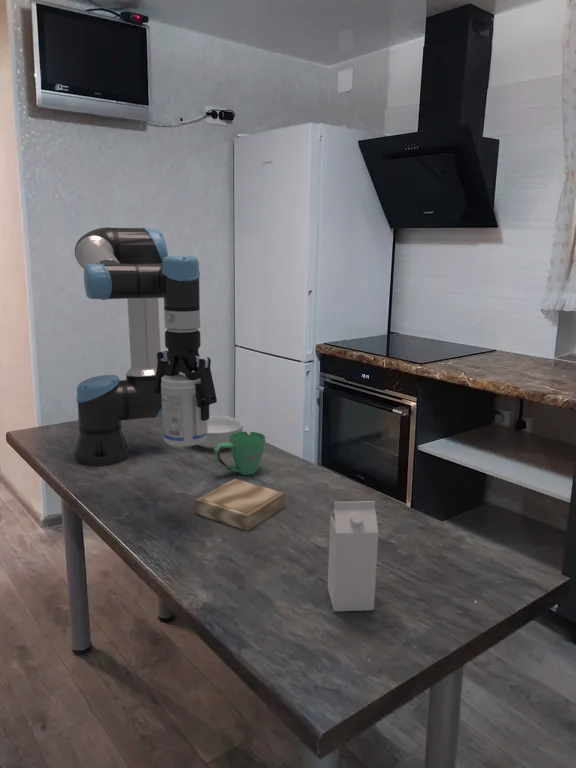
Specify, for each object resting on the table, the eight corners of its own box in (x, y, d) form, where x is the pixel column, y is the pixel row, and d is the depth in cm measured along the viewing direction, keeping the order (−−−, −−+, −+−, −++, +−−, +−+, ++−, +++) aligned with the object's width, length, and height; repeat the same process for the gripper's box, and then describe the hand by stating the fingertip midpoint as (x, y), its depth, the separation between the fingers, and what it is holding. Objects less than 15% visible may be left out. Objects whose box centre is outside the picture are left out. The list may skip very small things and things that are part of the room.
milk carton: (327, 589, 111) (331, 493, 106) (365, 588, 111) (370, 492, 107) (333, 612, 104) (337, 511, 99) (373, 611, 104) (379, 510, 100)
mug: (253, 462, 172) (254, 429, 170) (271, 474, 164) (272, 439, 162) (207, 472, 164) (206, 437, 162) (223, 484, 156) (223, 448, 154)
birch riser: (195, 513, 140) (195, 499, 139) (234, 491, 152) (234, 478, 151) (247, 530, 132) (247, 515, 131) (284, 506, 144) (284, 492, 144)
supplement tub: (200, 432, 140) (199, 370, 137) (212, 444, 132) (211, 379, 129) (158, 437, 137) (156, 373, 133) (168, 450, 128) (166, 383, 125)
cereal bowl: (177, 449, 181) (176, 427, 180) (203, 433, 197) (203, 413, 195) (228, 457, 176) (228, 434, 174) (251, 440, 191) (251, 419, 189)
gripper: (133, 326, 132) (137, 424, 137) (209, 336, 119) (211, 443, 125) (158, 323, 138) (162, 417, 143) (233, 332, 126) (234, 434, 131)
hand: (185, 429), depth 134 cm, fingers closed on supplement tub, 9 cm apart
